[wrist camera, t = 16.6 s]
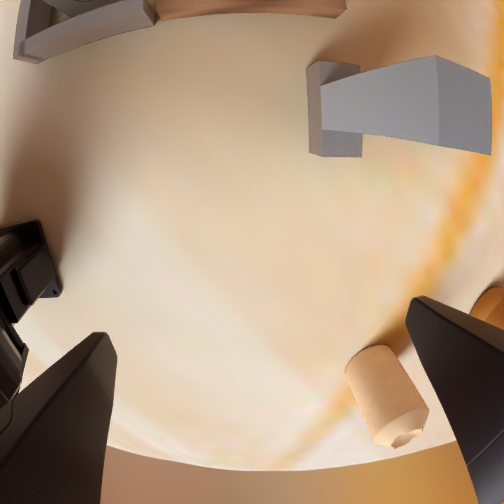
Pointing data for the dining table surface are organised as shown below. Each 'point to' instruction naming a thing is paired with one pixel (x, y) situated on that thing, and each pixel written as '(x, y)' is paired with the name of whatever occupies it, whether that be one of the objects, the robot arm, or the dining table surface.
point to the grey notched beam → (398, 106)
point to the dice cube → (77, 5)
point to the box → (73, 27)
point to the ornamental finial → (490, 307)
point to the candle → (386, 396)
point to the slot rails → (248, 7)
